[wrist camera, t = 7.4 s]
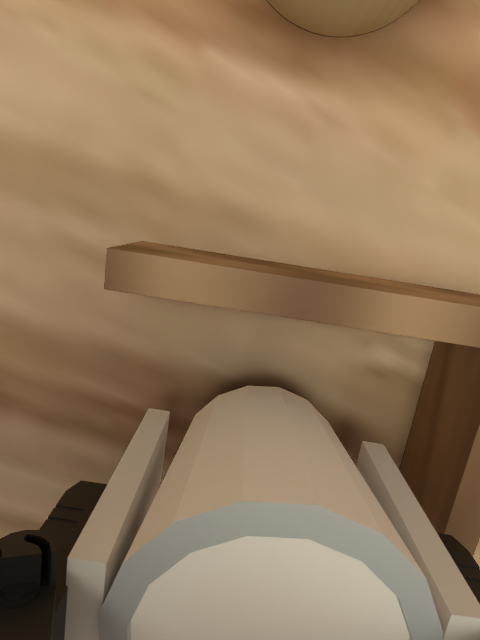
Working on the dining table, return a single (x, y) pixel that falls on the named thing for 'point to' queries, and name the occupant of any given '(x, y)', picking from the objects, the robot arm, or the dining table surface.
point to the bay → (362, 313)
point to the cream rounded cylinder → (341, 14)
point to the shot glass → (266, 538)
